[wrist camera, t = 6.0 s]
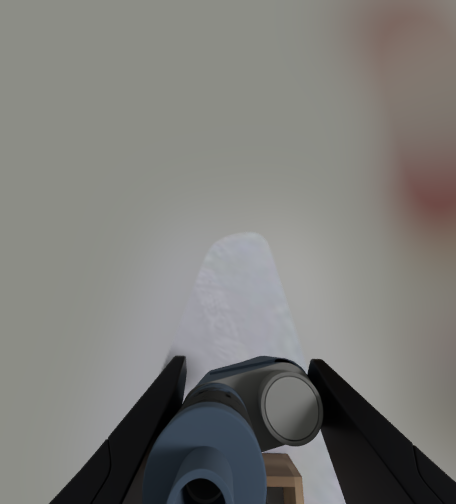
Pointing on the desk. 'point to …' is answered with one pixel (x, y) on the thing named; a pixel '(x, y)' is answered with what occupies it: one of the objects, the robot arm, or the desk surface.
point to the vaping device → (231, 433)
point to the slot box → (284, 477)
